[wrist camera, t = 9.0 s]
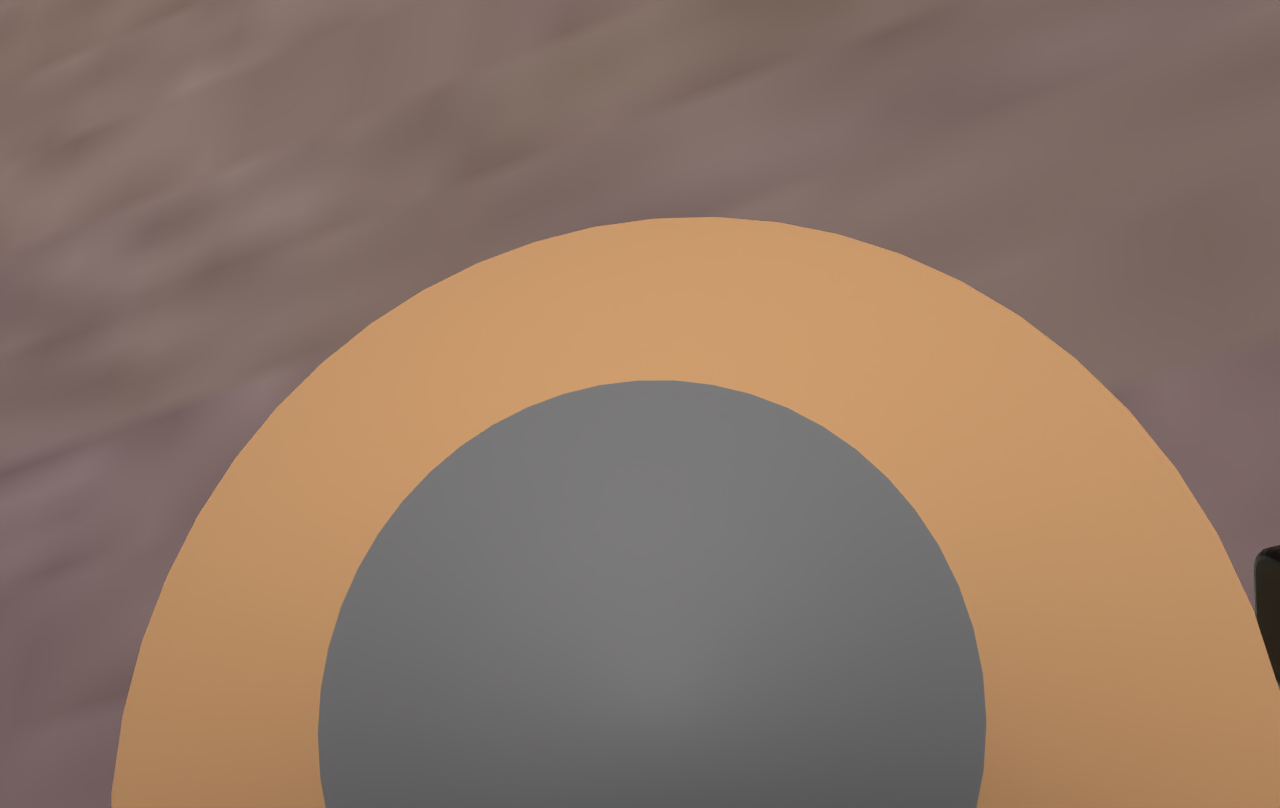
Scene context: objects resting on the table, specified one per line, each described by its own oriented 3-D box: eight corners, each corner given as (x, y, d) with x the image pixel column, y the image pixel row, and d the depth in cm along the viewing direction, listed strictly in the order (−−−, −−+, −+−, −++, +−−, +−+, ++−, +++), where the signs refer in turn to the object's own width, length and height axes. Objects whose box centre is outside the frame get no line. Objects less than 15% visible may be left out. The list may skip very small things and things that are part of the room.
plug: (828, 1039, 15) (1041, 2244, 2) (569, 867, 17) (-255, 952, 4) (953, 753, 17) (1553, 406, 4) (703, 618, 18) (466, 20, 5)
